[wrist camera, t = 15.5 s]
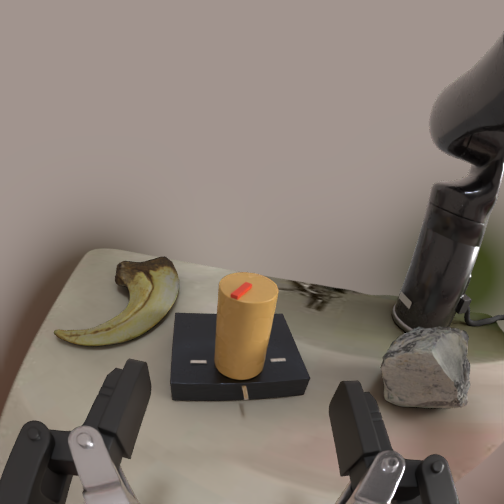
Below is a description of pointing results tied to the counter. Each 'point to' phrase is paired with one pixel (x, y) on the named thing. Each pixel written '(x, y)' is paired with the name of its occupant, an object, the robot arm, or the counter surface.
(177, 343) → the panel
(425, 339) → the stone
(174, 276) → the claw
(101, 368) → the counter surface
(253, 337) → the tan cylinder
